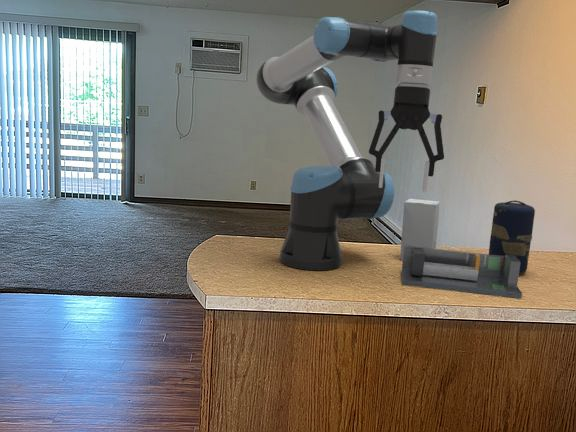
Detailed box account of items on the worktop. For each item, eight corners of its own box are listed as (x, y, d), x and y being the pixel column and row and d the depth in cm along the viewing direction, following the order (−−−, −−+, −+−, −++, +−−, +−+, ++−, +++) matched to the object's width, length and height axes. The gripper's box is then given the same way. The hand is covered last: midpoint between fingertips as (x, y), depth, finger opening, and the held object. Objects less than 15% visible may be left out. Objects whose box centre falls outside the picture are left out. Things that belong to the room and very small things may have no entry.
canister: (529, 278, 136) (540, 205, 133) (489, 273, 138) (498, 201, 135) (522, 268, 146) (532, 199, 142) (483, 264, 147) (492, 196, 144)
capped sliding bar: (411, 274, 127) (414, 250, 126) (411, 269, 132) (413, 245, 131) (477, 282, 124) (481, 257, 123) (474, 276, 129) (478, 252, 128)
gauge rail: (402, 284, 124) (405, 253, 123) (401, 270, 136) (404, 241, 134) (521, 298, 120) (526, 265, 118) (510, 282, 131) (514, 252, 130)
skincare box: (435, 259, 149) (442, 201, 146) (430, 264, 143) (437, 204, 140) (403, 254, 152) (409, 197, 149) (397, 259, 146) (404, 200, 144)
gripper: (361, 82, 121) (352, 186, 125) (466, 88, 117) (453, 195, 121) (363, 84, 128) (355, 182, 132) (462, 90, 124) (450, 191, 128)
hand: (402, 188), depth 127 cm, fingers open, 9 cm apart
